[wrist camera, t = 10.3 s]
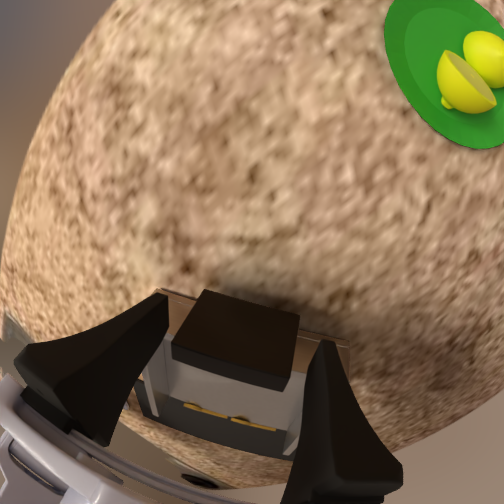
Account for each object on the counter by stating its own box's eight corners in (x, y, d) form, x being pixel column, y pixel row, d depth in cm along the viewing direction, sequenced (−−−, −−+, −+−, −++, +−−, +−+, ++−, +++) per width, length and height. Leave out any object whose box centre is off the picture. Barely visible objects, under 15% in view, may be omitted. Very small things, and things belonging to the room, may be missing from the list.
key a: (185, 403, 23) (184, 406, 23) (183, 402, 21) (182, 404, 21) (227, 416, 23) (226, 418, 22) (228, 415, 21) (227, 418, 21)
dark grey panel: (144, 414, 28) (143, 415, 28) (132, 376, 24) (130, 378, 23) (303, 460, 26) (302, 462, 26) (331, 434, 21) (331, 437, 21)
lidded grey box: (294, 426, 21) (284, 476, 17) (166, 389, 22) (142, 433, 18) (363, 314, 14) (371, 392, 10) (155, 259, 15) (102, 314, 11)
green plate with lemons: (485, 179, 9) (516, 198, 7) (351, 76, 9) (361, 65, 7) (532, 66, 5) (564, 66, 3) (411, -36, 5) (427, -61, 3)
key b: (230, 417, 22) (229, 420, 22) (232, 417, 21) (231, 421, 21) (272, 427, 22) (272, 430, 22) (277, 428, 21) (277, 431, 21)
